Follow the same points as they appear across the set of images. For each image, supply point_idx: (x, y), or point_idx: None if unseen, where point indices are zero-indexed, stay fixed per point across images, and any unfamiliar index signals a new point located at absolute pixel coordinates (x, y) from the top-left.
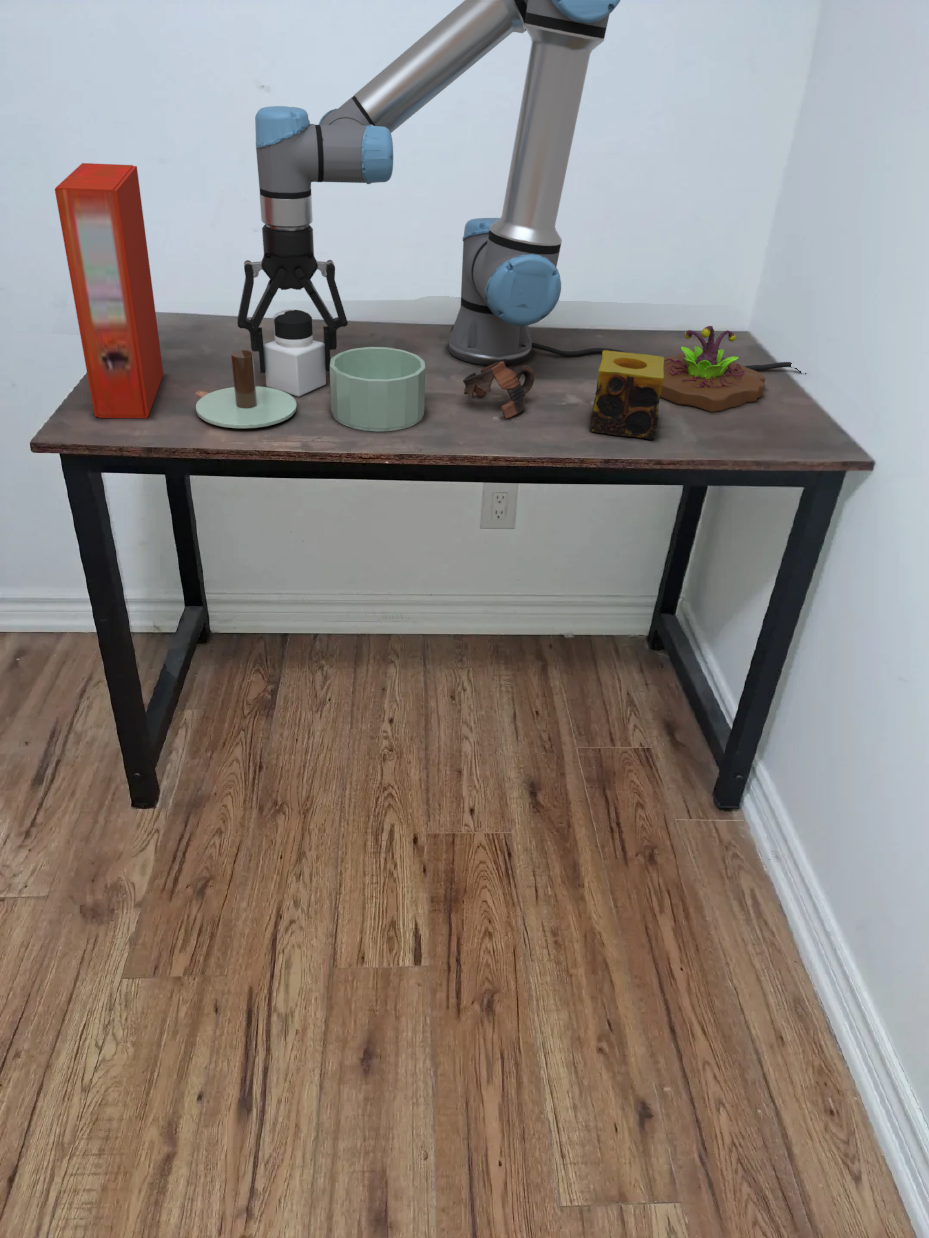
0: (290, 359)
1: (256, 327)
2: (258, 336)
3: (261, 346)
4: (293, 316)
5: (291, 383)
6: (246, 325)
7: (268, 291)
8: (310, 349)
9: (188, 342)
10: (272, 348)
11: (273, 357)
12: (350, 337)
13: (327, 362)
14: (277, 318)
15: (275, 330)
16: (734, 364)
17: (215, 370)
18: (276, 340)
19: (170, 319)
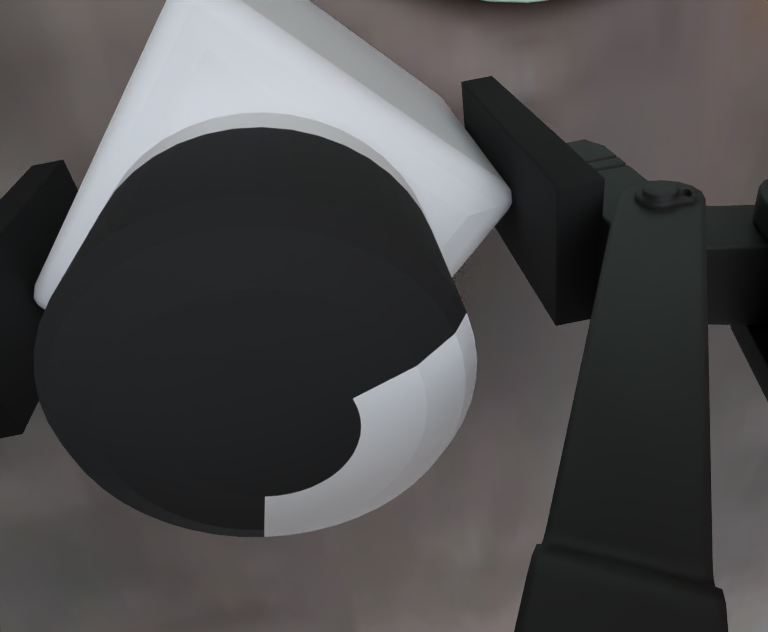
0: (261, 6)
1: (635, 209)
2: (584, 166)
3: (531, 138)
4: (223, 340)
5: None
6: (737, 224)
7: (705, 586)
8: (99, 154)
9: (736, 495)
10: (437, 143)
11: (420, 113)
12: (176, 624)
13: (29, 185)
14: (428, 303)
15: (433, 238)
16: None
17: None
18: (412, 191)
19: (755, 614)
